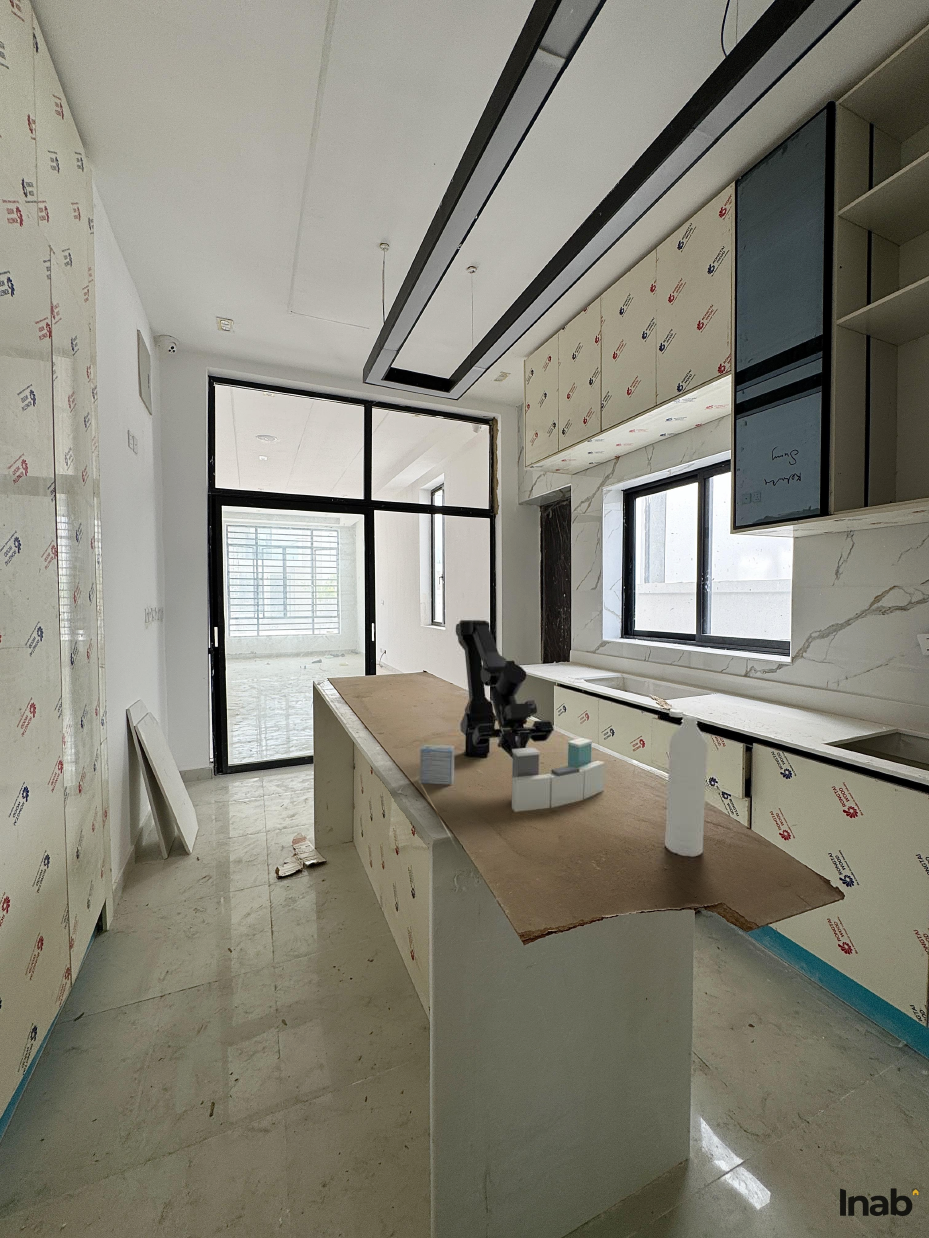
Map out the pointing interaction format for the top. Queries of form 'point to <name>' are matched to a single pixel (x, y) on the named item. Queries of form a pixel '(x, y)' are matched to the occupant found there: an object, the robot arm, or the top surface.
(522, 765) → the grey and white block
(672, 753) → the water bottle
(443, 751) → the medicine box
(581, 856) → the top surface
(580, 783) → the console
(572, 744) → the teal and white block
